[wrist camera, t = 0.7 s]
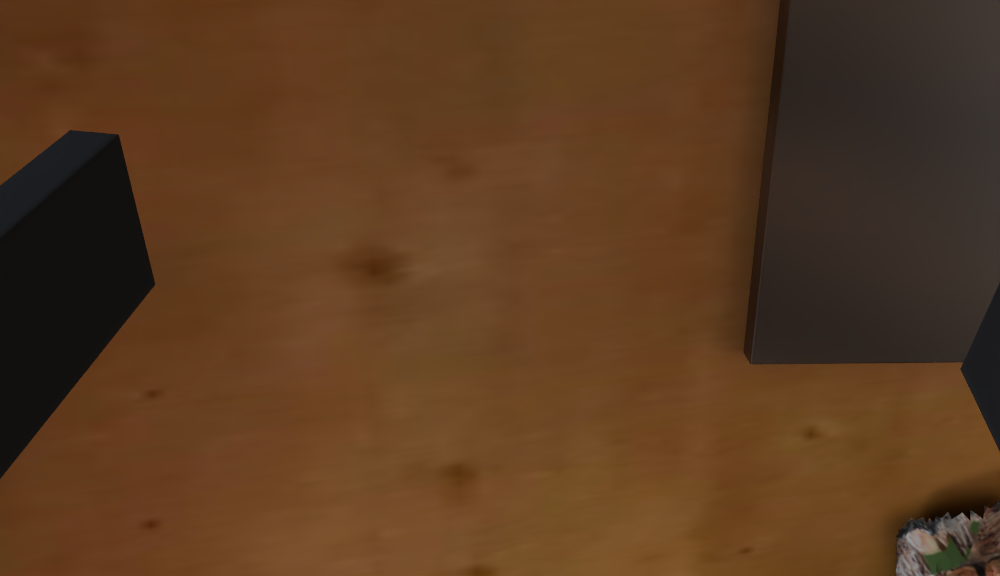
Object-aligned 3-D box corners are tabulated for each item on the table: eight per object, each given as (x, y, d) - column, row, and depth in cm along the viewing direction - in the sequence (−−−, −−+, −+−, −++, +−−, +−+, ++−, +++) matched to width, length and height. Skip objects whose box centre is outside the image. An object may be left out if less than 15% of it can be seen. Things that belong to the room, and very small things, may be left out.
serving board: (801, -205, 31) (812, -211, 29) (1221, -209, 31) (1249, -215, 29) (742, 353, 39) (750, 364, 37) (1075, 349, 39) (1093, 361, 37)
